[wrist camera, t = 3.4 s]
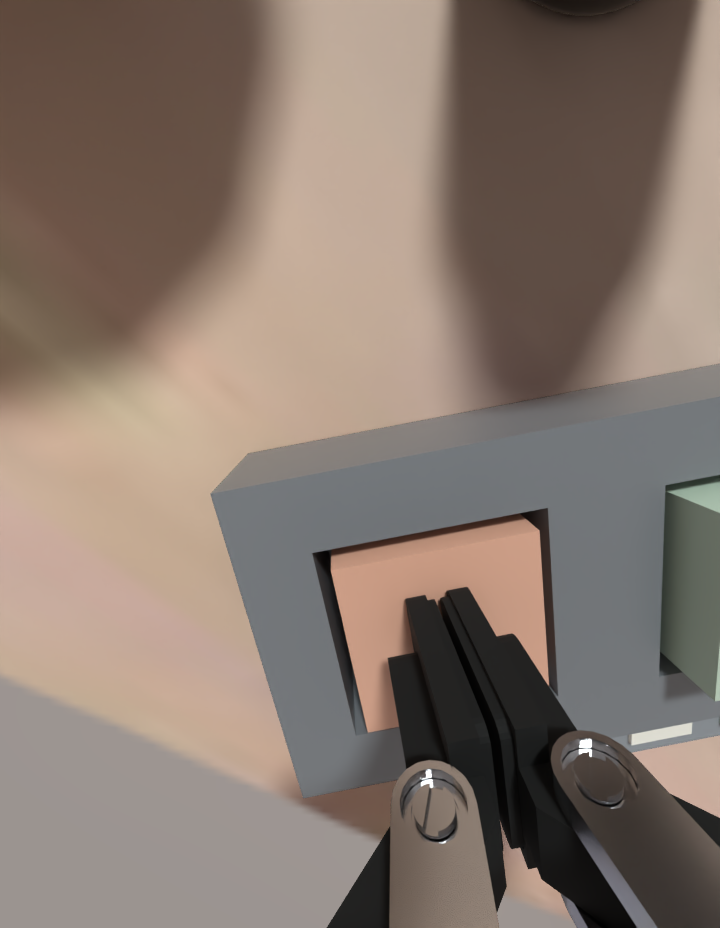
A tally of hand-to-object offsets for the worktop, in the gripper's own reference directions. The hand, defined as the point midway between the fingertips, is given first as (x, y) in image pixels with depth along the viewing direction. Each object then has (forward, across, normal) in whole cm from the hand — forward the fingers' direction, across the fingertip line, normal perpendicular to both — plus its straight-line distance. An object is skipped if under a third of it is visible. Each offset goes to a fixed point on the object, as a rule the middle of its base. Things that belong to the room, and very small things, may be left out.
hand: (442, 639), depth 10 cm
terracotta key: (+3, 0, 0) cm, 3 cm away
